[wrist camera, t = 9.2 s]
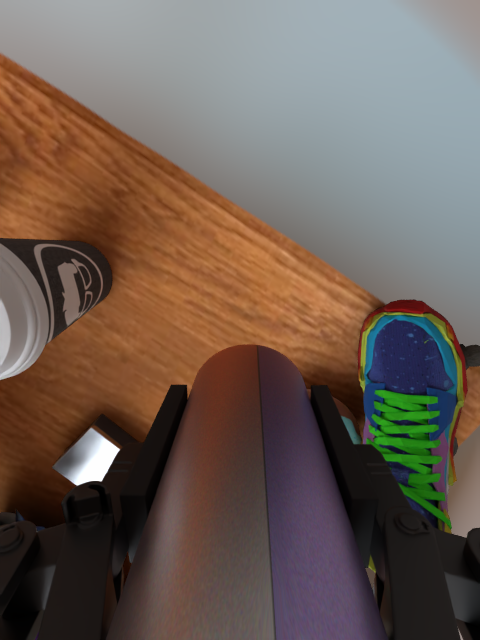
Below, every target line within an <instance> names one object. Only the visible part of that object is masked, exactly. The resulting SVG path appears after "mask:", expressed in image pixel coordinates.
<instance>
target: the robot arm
mask: <svg viewBox="0 0 480 640" xmlns="http://www.w3.org/2000/svg"><path fill="white" fill-rule="evenodd" d="M187 401H188V397H187V385H171V386H170V388H169V390H168V393H167V395H166V397H165V399H164V401H163V403H162V405H161V407H160V410H159V412H158V414H157V416H156V418H155V420H154V422H153V424H152V427H151V429H150V431H149V433H148V435H147V437H146V439H145V441H144V443H127V444H126V445H125V446H124V447H123V448H121V449H120V450H119V451H118V452H117V454H116V456H115V458H114V459H113V461H112V464H111V465H110V467H109V468H108V471H107V472H106V474H105V475H104V477H103V479H102V481H88V482H85V483H82V484H80V485H78V486H76V487H75V488H73V489H72V490H71V491H70V492H68V493H67V494H66V495H65V497H64V499H63V501H62V502H61V505H62V509H63V514H64V518H65V522H66V523H64V524H61V525H58V526H54V527H50V528H47V529H43V530H39V531H37V528H36V525H34V524H33V523H32V522H30V521H24V520H23V521H18V522H14V523H11V524H9V525H7V526H5V527H3V528H1V529H0V640H35V639H36V637H37V634H38V632H39V634H38V637H37V640H106V637H107V634H108V631H109V629H110V626H111V623H112V620H113V617H114V614H115V611H116V608H117V605H118V602H119V599H120V596H121V594H122V591H123V586H124V572H123V566H122V565H123V563H124V560H125V557H126V555H127V552H128V553H129V560H130V563H132V561H133V558H134V556H135V553H136V550H137V547H138V544H139V541H140V538H141V535H142V532H143V529H144V526H145V523H146V520H147V518H148V515H149V512H150V509H151V506H152V503H153V500H154V497H155V494H156V491H157V488H158V485H159V483H160V480H161V477H162V474H163V471H164V468H165V465H166V462H167V459H168V456H169V453H170V450H171V447H172V445H173V442H174V439H175V436H176V433H177V430H178V427H179V424H180V421H181V418H182V415H183V412H184V410H185V407H186V404H187ZM310 401H311V404H312V407H313V410H314V413H315V417H316V420H317V423H318V426H319V429H320V432H321V435H322V438H323V441H324V444H325V447H326V450H327V453H328V456H329V459H330V462H331V465H332V468H333V471H334V474H335V478H336V481H337V484H338V487H339V490H340V493H341V496H342V499H343V502H344V505H345V508H346V511H347V514H348V517H349V520H350V523H351V526H352V529H353V532H354V535H355V539H356V542H357V545H358V548H359V551H360V554H361V557H362V560H363V563H364V566H365V568H368V567H369V561H370V555H371V558H372V561H373V563H374V566H375V569H376V573H375V579H374V586H373V593H374V596H375V600H376V603H377V606H378V609H379V612H380V615H381V618H382V621H383V624H384V627H385V630H386V633H387V636H388V639H389V640H461V639H460V635H459V632H458V629H459V631H460V633H461V635H462V638H463V640H480V528H474V529H472V530H471V531H469V532H468V535H467V538H464V537H461V536H458V535H454V534H451V533H448V532H444V531H441V530H439V529H436V528H434V527H432V525H431V523H430V522H429V521H428V520H427V519H426V518H425V517H424V516H423V515H422V514H420V513H419V512H417V511H416V510H414V509H412V507H411V505H410V504H409V502H408V500H407V498H406V496H405V495H404V493H403V491H402V489H401V487H400V486H399V484H398V482H397V480H396V478H395V477H394V475H393V474H392V471H391V469H390V468H389V466H388V464H387V462H386V460H385V458H384V457H383V455H382V453H381V452H380V451H378V450H377V449H376V448H375V447H374V446H373V445H372V444H353V441H352V439H351V437H350V435H349V433H348V430H347V428H346V426H345V424H344V421H343V419H342V417H341V415H340V413H339V410H338V408H337V406H336V404H335V402H334V399H333V397H332V395H331V393H330V391H329V388H328V386H327V385H311V397H310ZM457 626H458V627H457Z"/></svg>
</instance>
